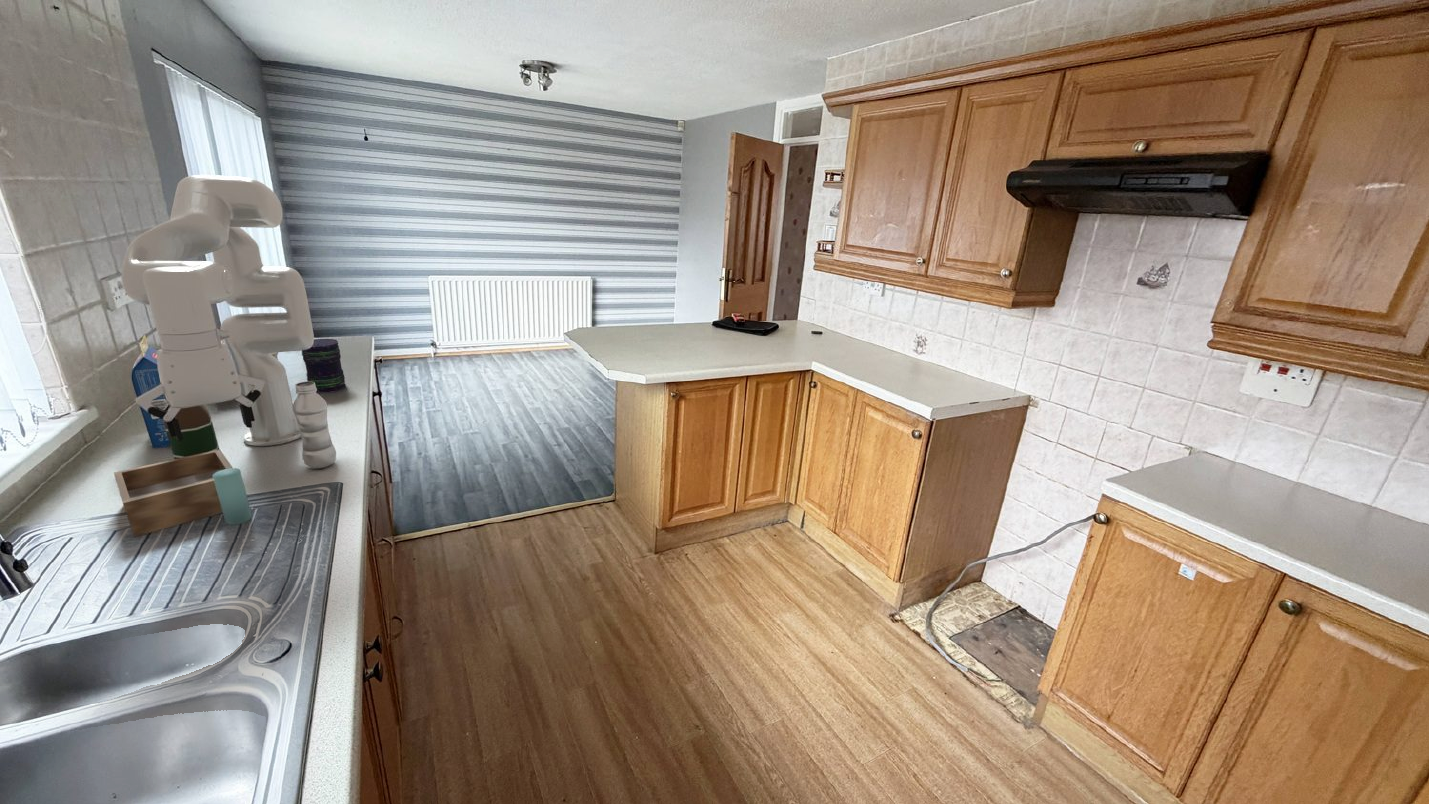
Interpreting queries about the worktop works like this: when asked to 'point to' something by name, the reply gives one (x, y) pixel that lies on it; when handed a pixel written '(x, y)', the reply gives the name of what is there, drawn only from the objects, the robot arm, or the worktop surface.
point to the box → (171, 491)
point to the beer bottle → (193, 433)
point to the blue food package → (144, 381)
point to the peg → (232, 496)
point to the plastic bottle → (313, 426)
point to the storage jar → (324, 365)
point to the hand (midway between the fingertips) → (215, 432)
